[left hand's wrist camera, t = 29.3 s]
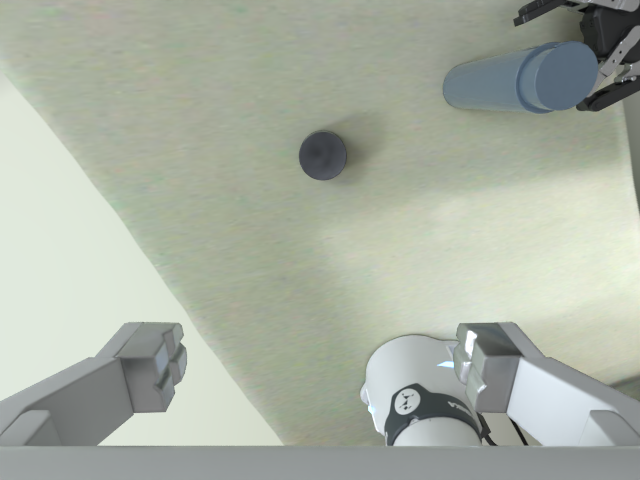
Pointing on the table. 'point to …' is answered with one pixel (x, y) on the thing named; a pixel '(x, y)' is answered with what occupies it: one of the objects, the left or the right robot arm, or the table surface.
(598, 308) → the table surface
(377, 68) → the table surface
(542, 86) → the blue bottle
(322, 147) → the lid
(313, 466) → the left robot arm
